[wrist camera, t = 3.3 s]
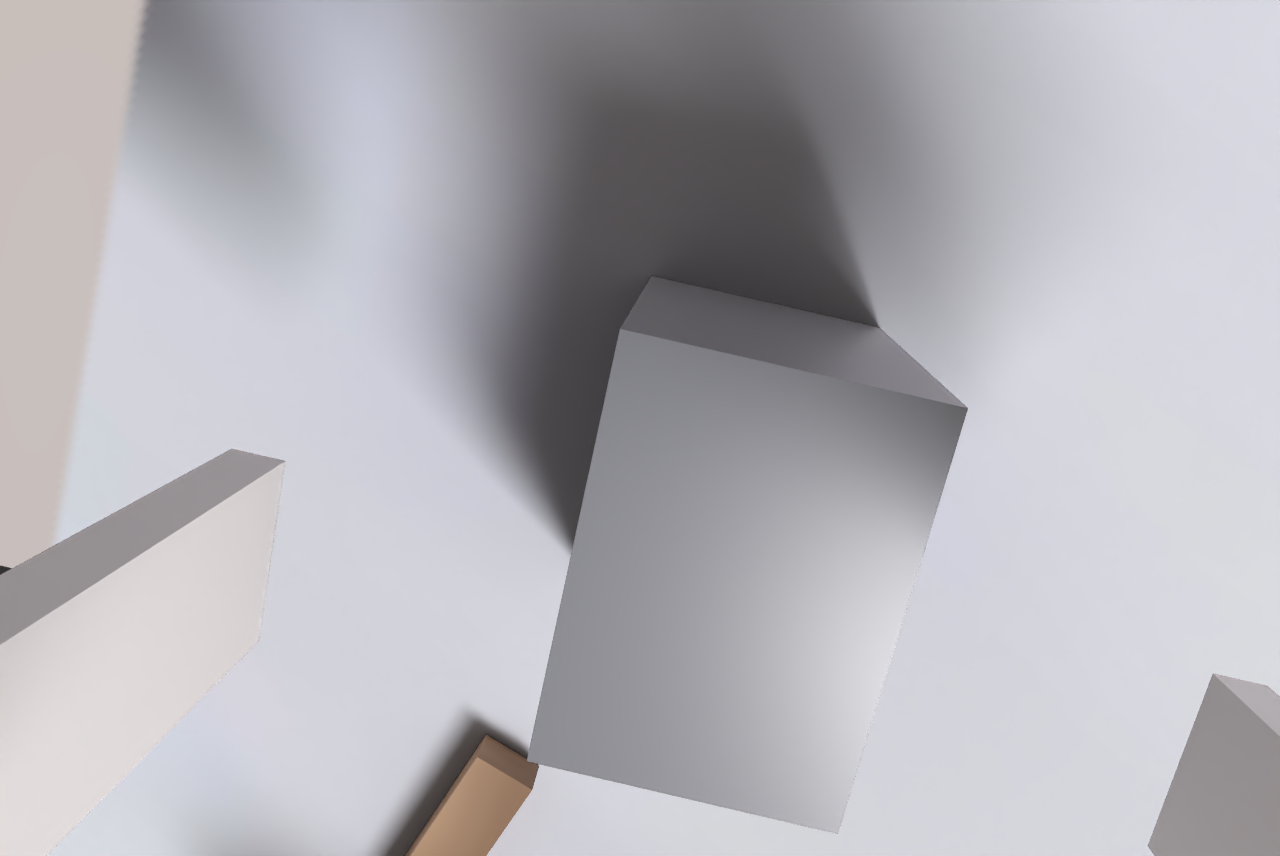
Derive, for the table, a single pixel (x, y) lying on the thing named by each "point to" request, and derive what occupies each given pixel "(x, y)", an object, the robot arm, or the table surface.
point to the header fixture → (478, 803)
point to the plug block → (743, 554)
